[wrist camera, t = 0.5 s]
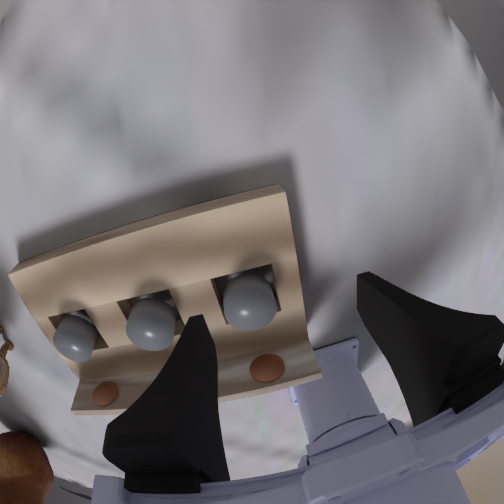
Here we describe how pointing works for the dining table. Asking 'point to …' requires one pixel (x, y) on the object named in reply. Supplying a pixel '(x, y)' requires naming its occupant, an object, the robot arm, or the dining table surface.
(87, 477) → the dining table surface
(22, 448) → the butternut squash
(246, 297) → the button end
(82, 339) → the button end
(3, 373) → the lion figurine
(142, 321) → the button middle
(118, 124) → the dining table surface
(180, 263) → the button board
